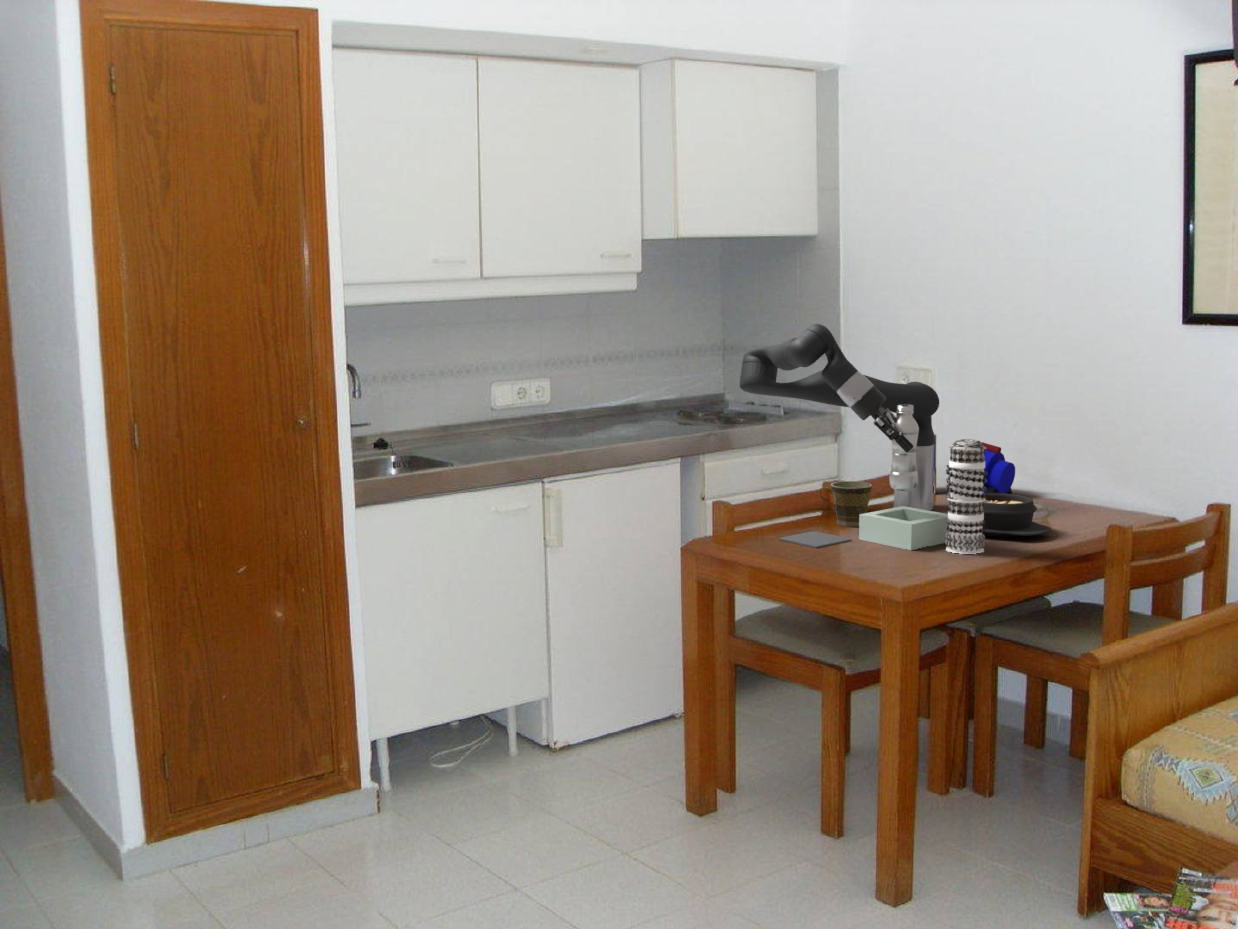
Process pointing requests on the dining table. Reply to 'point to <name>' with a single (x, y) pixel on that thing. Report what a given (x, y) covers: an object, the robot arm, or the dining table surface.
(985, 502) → the casserole
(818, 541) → the rubber mat
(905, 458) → the plastic bottle
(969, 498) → the black and white cylinder
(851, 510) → the ceramic cup
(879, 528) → the holder block
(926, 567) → the dining table surface
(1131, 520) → the dining table surface
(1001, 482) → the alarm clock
